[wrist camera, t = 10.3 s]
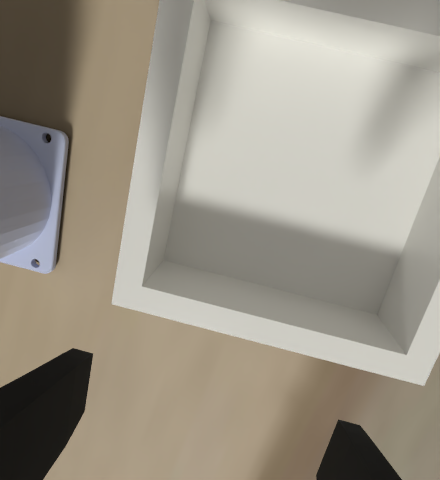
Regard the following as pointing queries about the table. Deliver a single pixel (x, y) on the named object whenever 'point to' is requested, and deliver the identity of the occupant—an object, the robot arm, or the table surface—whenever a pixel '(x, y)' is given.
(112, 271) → the table surface
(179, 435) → the table surface
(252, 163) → the white square dish
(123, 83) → the table surface
